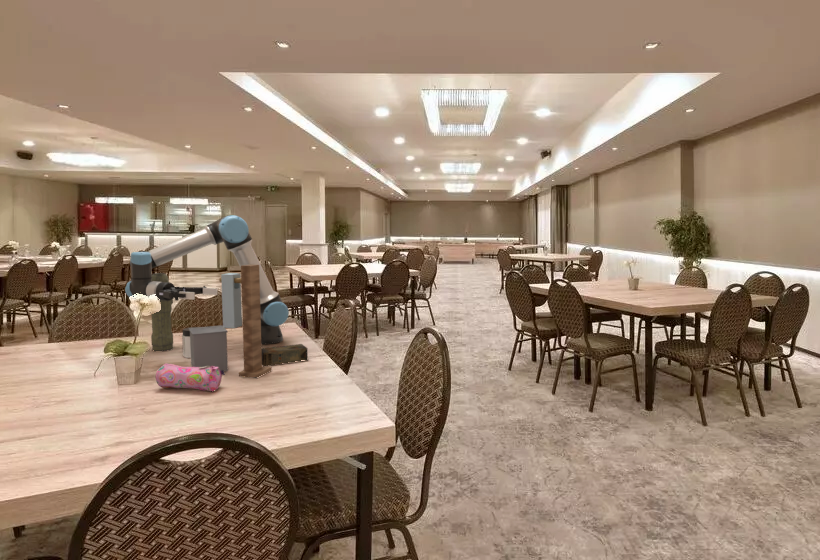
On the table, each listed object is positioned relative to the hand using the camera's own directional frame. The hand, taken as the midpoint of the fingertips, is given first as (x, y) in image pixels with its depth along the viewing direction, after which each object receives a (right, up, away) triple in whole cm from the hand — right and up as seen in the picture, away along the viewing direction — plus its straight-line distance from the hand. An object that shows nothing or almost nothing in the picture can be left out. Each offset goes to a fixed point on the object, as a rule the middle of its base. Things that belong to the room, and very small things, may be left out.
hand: (205, 293), depth 199 cm
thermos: (-33, -27, +32) cm, 53 cm away
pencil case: (+4, -33, -23) cm, 40 cm away
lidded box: (+1, -30, +1) cm, 30 cm away
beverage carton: (+28, -29, +13) cm, 42 cm away
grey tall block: (+12, -13, -4) cm, 18 cm away
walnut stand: (+16, -31, -3) cm, 35 cm away
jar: (-14, -28, +21) cm, 38 cm away
